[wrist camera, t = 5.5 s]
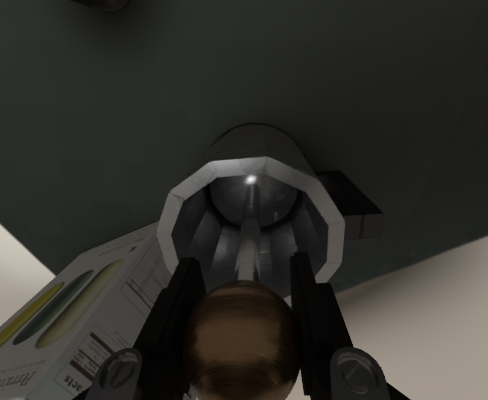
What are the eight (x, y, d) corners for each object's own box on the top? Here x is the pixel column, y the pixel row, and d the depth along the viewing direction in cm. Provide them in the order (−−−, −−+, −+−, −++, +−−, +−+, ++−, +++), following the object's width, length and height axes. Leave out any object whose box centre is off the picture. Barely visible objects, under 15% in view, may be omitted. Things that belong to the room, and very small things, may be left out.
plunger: (295, 140, 19) (418, 308, 4) (296, 221, 22) (369, 480, 7) (205, 149, 20) (41, 315, 5) (218, 225, 23) (142, 468, 8)
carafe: (334, 114, 21) (415, 138, 10) (329, 216, 25) (381, 312, 14) (194, 128, 22) (131, 164, 11) (212, 223, 26) (178, 316, 15)
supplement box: (165, 215, 26) (22, 400, 10) (220, 295, 31) (177, 507, 15) (79, 252, 29) (-133, 438, 14) (140, 319, 34) (36, 517, 18)
